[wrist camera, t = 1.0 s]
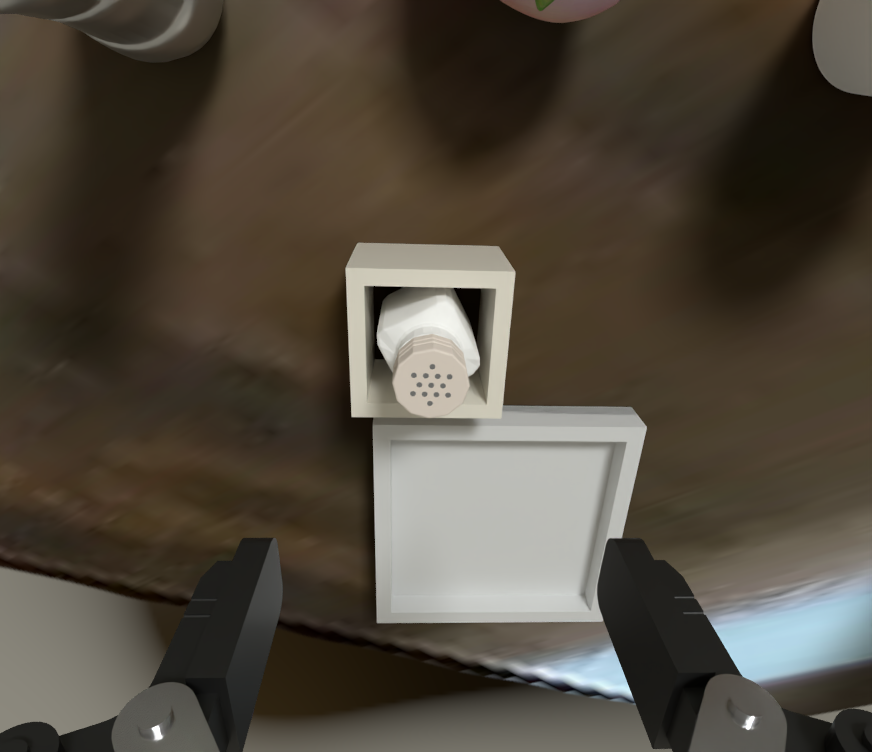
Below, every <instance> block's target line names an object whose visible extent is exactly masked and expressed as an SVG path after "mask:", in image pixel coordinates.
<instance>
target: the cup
mask: <svg viewBox="0 0 872 752" xmlns="http://www.w3.org/2000/svg"><path fill="white" fill-rule="evenodd" d="M812 43H813V51H814V56H815V60H816V63H817V65H818V68H819V69H820V71H821V73H822V74H823V76H824V77H825V78H826V79H827V80H828V82H829V83H831V84H832V85H833V86H835V87H836V88H838V89H840V90H842V91H845V92H848V93H853V94H859V95H866V96H872V0H820V1H819V4H818V7H817V10H816V14H815V18H814V23H813V32H812Z"/></svg>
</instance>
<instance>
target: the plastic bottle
mask: <svg viewBox="0 0 872 752" xmlns="http://www.w3.org/2000/svg"><path fill="white" fill-rule="evenodd" d="M223 1H224V0H0V14H19V15H24V16H30V17H36V18H42V19H48V20H53V21H58V22H60V23H63V24H65V25H68V26H70V27H72V28H75V29H77V30H79V31H82V32H84V33H85V34H86V35H88V36H89V37H91V38H93V39H94V40H96V41H97V42H99V43H101V44H102V45H104V46H106V47H108V48H110V49H112V50H114V51H116V52H118V53H120V54H122V55H125V56H127V57H130V58H132V59H135V60H139V61H144V62H150V63H157V62H168V61H172V60H176V59H179V58H183V57H186V56H189V55H191V54H193V53H194V52H196V51H198V50H199V49H201V48H202V47H203V46H204V45H205V44H206V43H207V42H208V41H209V40H210V38H211V36H212V35H213V33H214V31H215V30H216V28H217V26H218V23H219V20H220V17H221V14H222V8H223Z"/></svg>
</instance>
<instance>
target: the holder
mask: <svg viewBox="0 0 872 752" xmlns="http://www.w3.org/2000/svg"><path fill="white" fill-rule="evenodd" d="M514 281H515V270H514V269H513V267H512V266H511V264H510V263H509V261H508V260H507V258H506V257H505V255H504V254H503V252H502V251H501V249H500V248H499V246H467V245H426V244H386V243H357V245H356V247H355V249H354V251H353V253H352V256H351V258H350V260H349V262H348V264H347V266H346V291H347V316H348V340H349V365H350V390H351V414H352V417H391V418H425V417H422V416H418V415H414V414H411V413H409V412H408V411H407V410H406V409H405V408H404V407H403V406H402V405H401V404H400V403H399V402H398V401H397V400H396V396H395V392H394V389H393V385H392V377H393V373H392V371H391V369H390V367H389V366H388V364H387V362H386V360H384V359H375V347H374V293H373V286H396V287H444V288H481V293H480V307H479V322H478V337H477V349H478V353H479V356H480V366H479V367H478V369H477V370H476V371H475V372H474V374H472V375H471V376H469V377H468V379H469V384H470V387H469V390H468V392H467V395H466V397H465V400H464V402H463V404H461V405H460V406H459V407H457V408H456V409H455V410H454V411H452V412H451V413H450V414H448V415H445V416H440V417H434V418H489V419H501V417H502V407H503V396H504V386H505V375H506V365H507V354H508V344H509V333H510V323H511V312H512V302H513V291H514Z"/></svg>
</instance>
